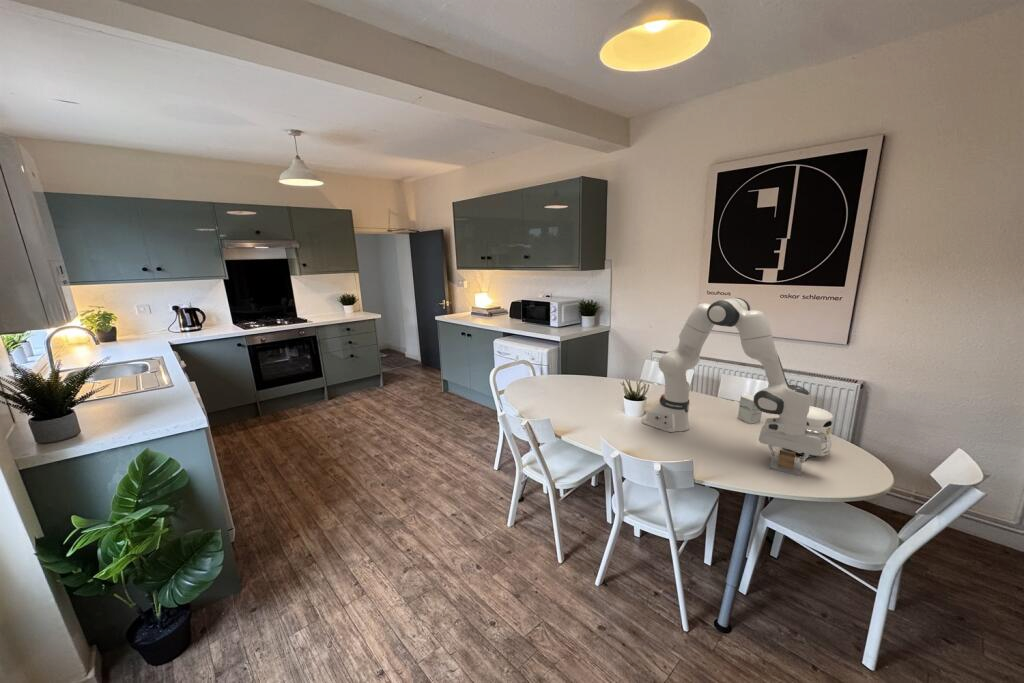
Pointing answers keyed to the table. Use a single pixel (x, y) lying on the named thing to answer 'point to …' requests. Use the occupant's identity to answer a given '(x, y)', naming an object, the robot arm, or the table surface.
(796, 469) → the coaster
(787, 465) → the walnut cube
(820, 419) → the milk container
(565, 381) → the table surface
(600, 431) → the table surface
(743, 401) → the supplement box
